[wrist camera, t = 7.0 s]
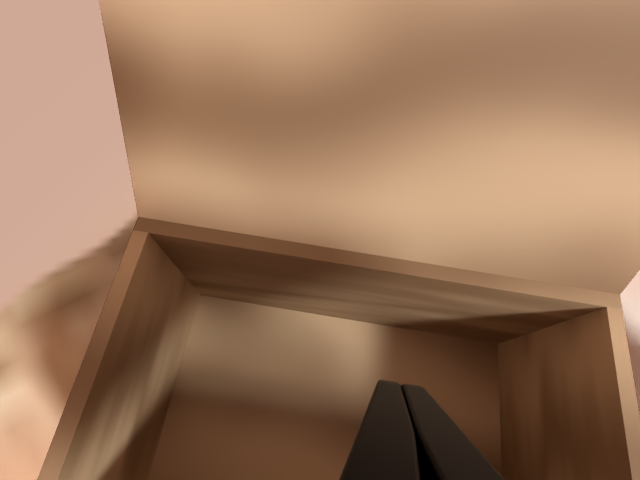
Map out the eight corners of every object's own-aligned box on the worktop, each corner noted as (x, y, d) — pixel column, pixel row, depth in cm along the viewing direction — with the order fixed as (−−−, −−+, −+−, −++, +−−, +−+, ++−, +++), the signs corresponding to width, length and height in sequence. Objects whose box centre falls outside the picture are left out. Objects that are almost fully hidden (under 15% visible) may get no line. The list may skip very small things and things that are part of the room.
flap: (944, -114, 7) (918, -110, 7) (54, -244, 7) (68, -234, 7) (619, 294, 13) (613, 286, 13) (138, 216, 13) (143, 210, 13)
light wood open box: (511, 582, 16) (690, 723, 9) (128, 515, 16) (-10, 600, 9) (502, 337, 20) (619, 294, 13) (195, 286, 20) (138, 216, 13)
